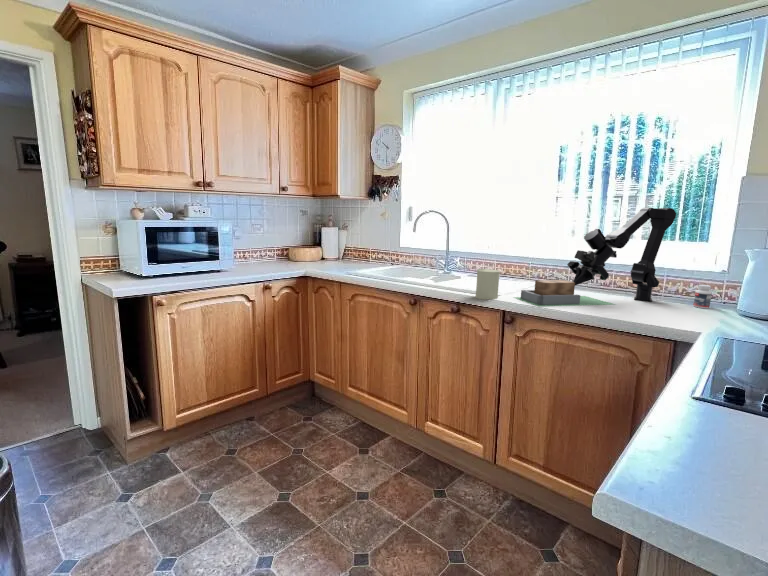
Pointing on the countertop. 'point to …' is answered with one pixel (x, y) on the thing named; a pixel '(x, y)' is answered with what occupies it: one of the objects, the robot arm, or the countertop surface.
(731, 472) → the countertop surface
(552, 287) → the walnut block
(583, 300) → the mat
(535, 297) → the grey tray
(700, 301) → the pill bottle
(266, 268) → the countertop surface
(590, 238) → the robot arm
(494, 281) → the can
